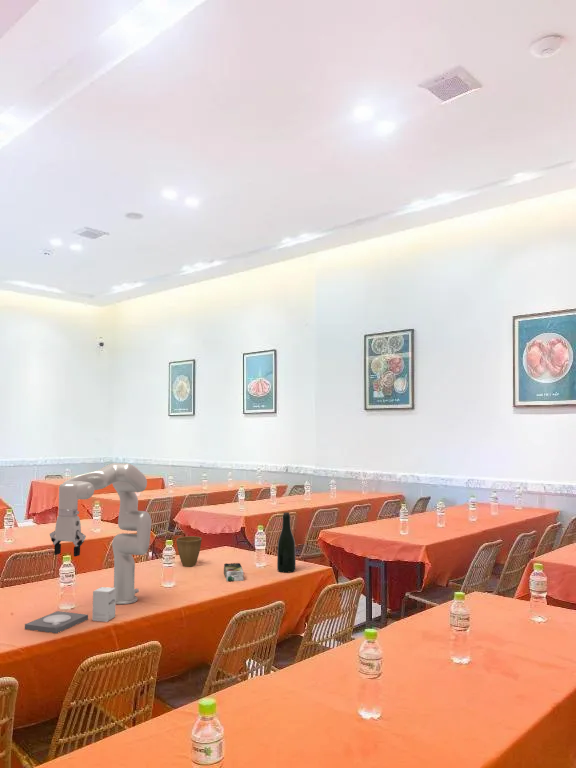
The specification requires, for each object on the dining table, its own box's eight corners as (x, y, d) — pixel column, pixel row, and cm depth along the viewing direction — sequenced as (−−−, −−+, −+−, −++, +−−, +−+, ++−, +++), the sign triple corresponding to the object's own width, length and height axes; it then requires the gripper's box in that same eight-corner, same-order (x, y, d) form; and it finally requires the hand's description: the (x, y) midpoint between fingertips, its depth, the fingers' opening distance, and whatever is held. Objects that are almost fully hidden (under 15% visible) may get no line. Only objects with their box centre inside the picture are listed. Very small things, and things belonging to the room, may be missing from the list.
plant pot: (176, 563, 392) (177, 536, 393) (201, 562, 394) (201, 536, 395) (175, 568, 378) (175, 540, 379) (201, 568, 379) (201, 540, 380)
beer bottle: (274, 569, 375) (274, 512, 377) (290, 568, 379) (290, 511, 382) (281, 573, 366) (281, 514, 368) (298, 571, 370) (298, 513, 372)
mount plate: (57, 615, 285) (57, 608, 286) (87, 619, 280) (88, 612, 280) (24, 629, 267) (24, 621, 267) (56, 633, 261) (56, 625, 261)
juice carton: (244, 581, 348) (244, 569, 349) (226, 582, 346) (226, 570, 347) (240, 573, 368) (240, 562, 368) (223, 574, 366) (223, 563, 367)
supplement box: (107, 622, 276) (108, 591, 277) (91, 620, 278) (92, 590, 279) (115, 617, 284) (116, 587, 284) (100, 616, 285) (100, 586, 286)
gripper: (91, 513, 271) (90, 554, 270) (57, 511, 277) (56, 552, 276) (79, 515, 264) (78, 558, 263) (44, 513, 270) (43, 555, 269)
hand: (67, 555), depth 270 cm, fingers open, 9 cm apart
